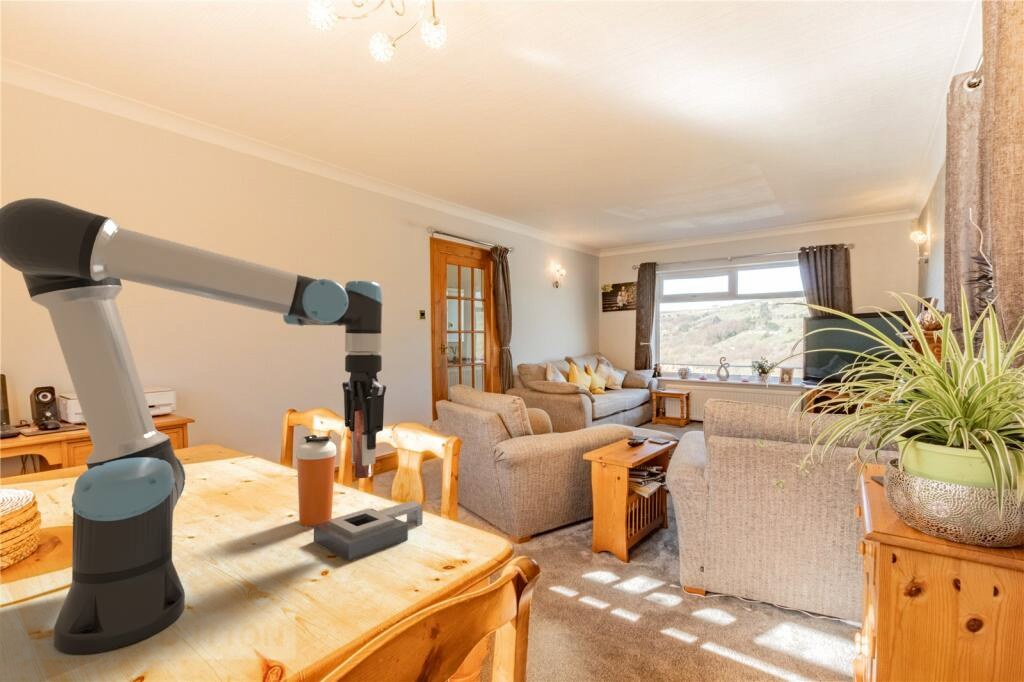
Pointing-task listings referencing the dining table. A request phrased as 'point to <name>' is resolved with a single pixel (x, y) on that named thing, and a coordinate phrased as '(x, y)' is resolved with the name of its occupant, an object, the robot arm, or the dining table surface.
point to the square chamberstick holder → (359, 539)
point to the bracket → (377, 518)
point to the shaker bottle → (315, 479)
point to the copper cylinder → (360, 448)
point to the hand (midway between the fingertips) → (363, 462)
